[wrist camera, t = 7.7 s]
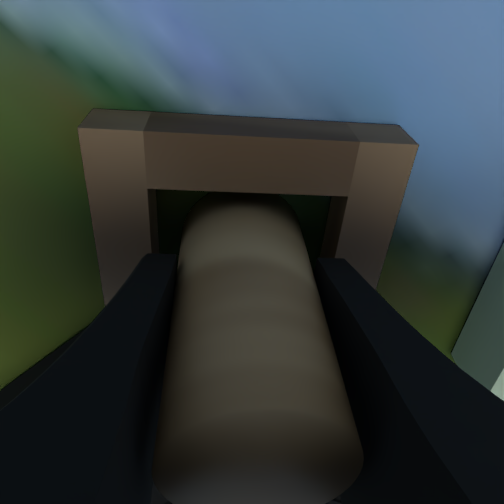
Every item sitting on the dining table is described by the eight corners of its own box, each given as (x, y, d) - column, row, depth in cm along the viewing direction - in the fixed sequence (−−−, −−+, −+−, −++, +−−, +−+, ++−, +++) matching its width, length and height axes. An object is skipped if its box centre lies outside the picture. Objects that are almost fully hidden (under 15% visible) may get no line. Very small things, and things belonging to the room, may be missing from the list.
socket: (342, 337, 13) (352, 368, 12) (122, 335, 13) (114, 367, 12) (399, 125, 10) (418, 145, 9) (92, 108, 9) (77, 127, 8)
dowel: (288, 287, 12) (335, 520, 7) (179, 280, 12) (151, 520, 7) (311, 190, 10) (391, 411, 6) (184, 179, 10) (151, 405, 5)
